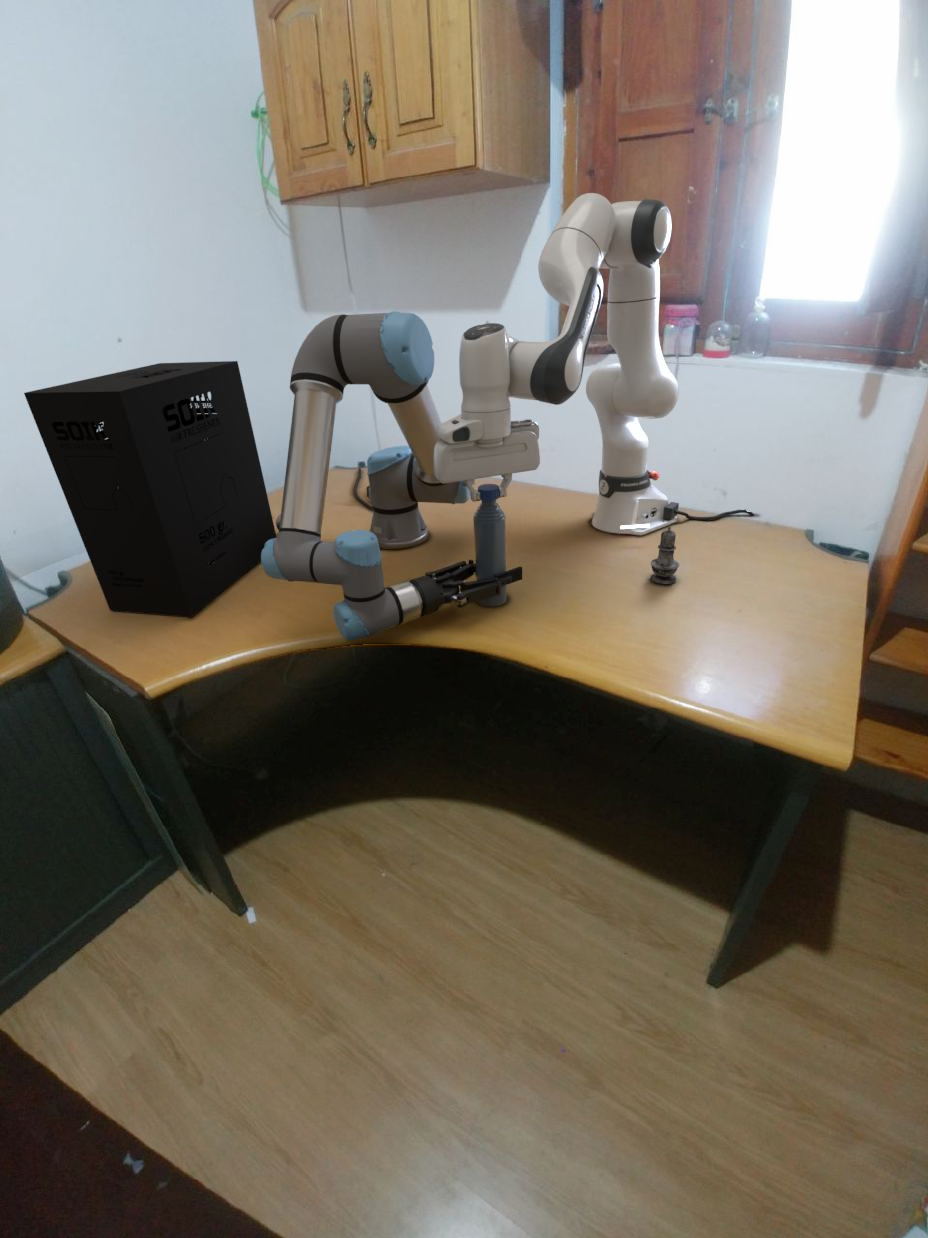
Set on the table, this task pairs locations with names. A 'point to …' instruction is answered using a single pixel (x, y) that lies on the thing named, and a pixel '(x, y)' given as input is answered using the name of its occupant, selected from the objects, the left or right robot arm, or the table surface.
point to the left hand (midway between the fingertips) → (511, 567)
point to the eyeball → (278, 521)
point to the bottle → (490, 546)
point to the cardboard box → (159, 481)
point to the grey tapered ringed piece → (665, 559)
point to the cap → (489, 492)
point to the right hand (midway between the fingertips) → (488, 498)
